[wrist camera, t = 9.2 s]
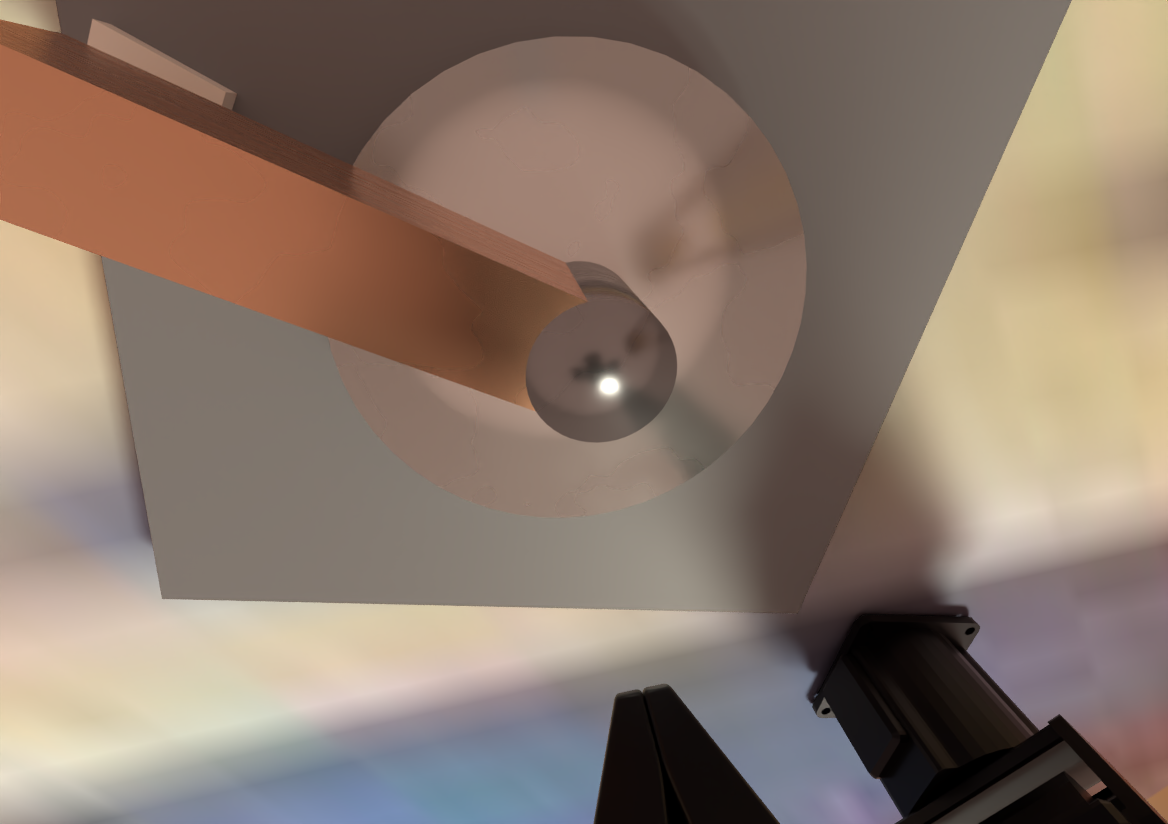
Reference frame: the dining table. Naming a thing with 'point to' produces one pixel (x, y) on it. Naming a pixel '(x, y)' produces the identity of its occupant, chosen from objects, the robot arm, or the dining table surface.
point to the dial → (458, 250)
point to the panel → (587, 543)
